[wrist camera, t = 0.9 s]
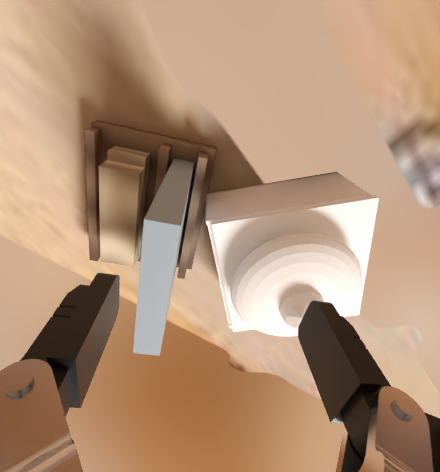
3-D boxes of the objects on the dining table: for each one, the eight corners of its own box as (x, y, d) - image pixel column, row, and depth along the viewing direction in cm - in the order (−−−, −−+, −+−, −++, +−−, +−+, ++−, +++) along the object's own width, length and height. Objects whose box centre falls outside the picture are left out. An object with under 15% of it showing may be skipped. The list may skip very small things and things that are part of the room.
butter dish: (206, 193, 34) (204, 264, 21) (340, 171, 33) (431, 230, 20) (225, 289, 43) (233, 383, 30) (332, 273, 42) (390, 363, 29)
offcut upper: (107, 159, 28) (98, 166, 25) (144, 167, 28) (139, 174, 26) (107, 250, 33) (100, 261, 31) (138, 254, 34) (133, 266, 32)
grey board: (174, 158, 30) (143, 219, 16) (194, 162, 31) (180, 226, 17) (161, 253, 37) (133, 353, 23) (178, 256, 37) (159, 355, 24)
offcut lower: (115, 145, 29) (107, 150, 27) (150, 153, 30) (145, 158, 28) (113, 245, 36) (107, 256, 34) (142, 250, 37) (137, 260, 35)
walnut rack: (96, 120, 29) (79, 126, 25) (216, 147, 31) (216, 156, 27) (99, 248, 38) (86, 267, 34) (192, 263, 40) (190, 282, 36)
